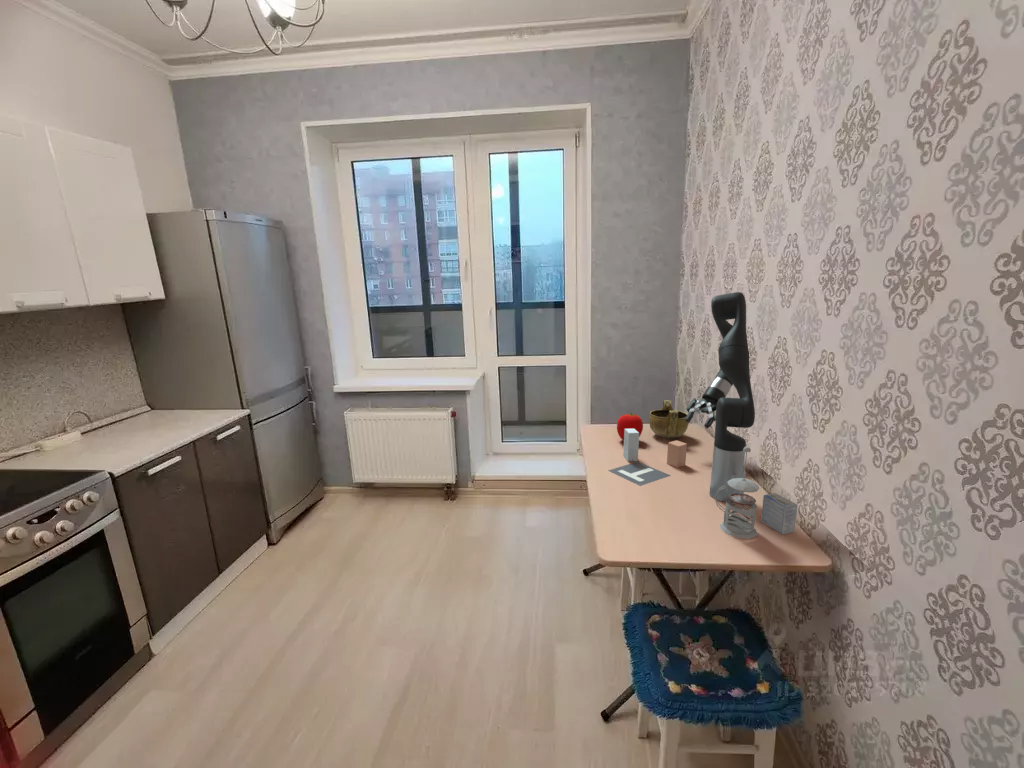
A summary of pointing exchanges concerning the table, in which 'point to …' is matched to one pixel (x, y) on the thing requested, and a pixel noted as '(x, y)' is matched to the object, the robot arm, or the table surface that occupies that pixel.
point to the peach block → (676, 453)
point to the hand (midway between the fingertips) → (696, 424)
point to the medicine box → (779, 513)
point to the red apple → (629, 424)
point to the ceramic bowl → (668, 421)
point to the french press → (735, 522)
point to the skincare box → (631, 444)
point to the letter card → (639, 473)
